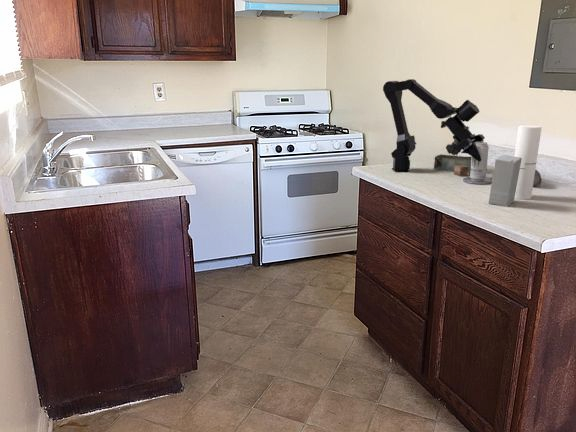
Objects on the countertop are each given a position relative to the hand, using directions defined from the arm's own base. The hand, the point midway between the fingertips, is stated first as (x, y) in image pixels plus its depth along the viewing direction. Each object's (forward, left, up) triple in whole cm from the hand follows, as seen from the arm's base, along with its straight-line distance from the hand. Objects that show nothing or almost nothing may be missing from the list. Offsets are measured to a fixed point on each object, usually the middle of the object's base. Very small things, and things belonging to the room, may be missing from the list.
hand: (483, 159), depth 192 cm
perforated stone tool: (+17, -5, -9) cm, 20 cm away
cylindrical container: (+4, -23, -9) cm, 25 cm away
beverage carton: (0, +23, -9) cm, 25 cm away
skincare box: (-6, -30, -9) cm, 32 cm away
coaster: (-1, +1, -9) cm, 9 cm away
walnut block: (-3, +13, -9) cm, 16 cm away
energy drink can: (-1, +1, -8) cm, 9 cm away
